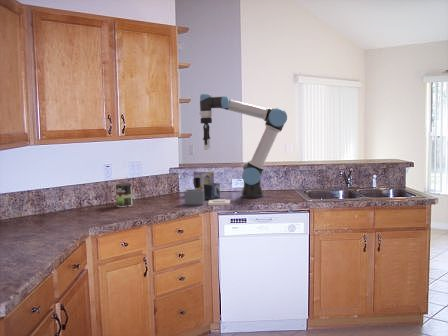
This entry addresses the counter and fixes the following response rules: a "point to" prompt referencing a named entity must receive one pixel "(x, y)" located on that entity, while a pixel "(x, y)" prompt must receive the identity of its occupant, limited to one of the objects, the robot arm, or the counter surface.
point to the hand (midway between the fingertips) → (207, 149)
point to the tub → (194, 197)
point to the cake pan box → (202, 178)
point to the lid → (219, 202)
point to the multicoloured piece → (124, 195)
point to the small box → (211, 191)
